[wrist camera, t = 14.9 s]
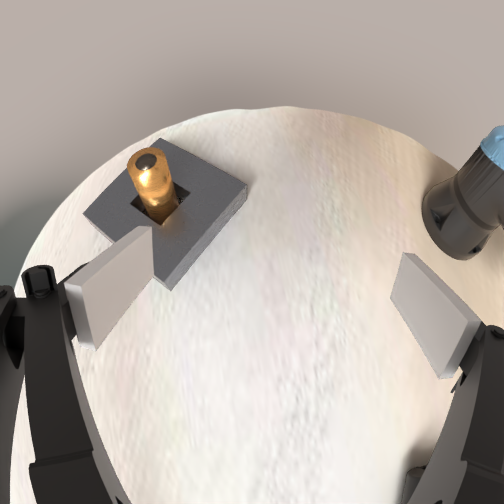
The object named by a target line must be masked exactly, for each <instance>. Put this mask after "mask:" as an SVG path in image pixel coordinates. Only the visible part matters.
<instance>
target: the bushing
mask: <svg viewBox="0 0 504 504" xmlns="http://www.w3.org/2000/svg"><path fill="white" fill-rule="evenodd" d="M127 170H128V172H129V174H130V177H131V179H132V181H133V183H134V185H135V188H136V190H137V192H138V194H139V196H140V198H141V200H142V202H143V204H144V207H145V209H146V211H147V213H148V215H149V217H150V219H151V220H153V221H154V222H155V223H157V224H158V225H160V226H161V225H162V224H163V223H164V221H165V220H166V219H167V218H168V217H169V216H170V215H171V214H172V213H173V212H174V210H175V209H176V208H177V207H178V206H179V201H178V198H177V195H176V191H175V188H174V185H173V181H172V178H171V174H170V171H169V167H168V164H167V160H166V157H165V154H164V152H163V151H162V150H160V149H158V148H154V147H149V148H144V149H141V150H139V151H138V152H136V153H135V154H134V155H132V157H131V158H130V159H129V161H128V164H127Z"/></svg>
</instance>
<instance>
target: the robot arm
mask: <svg viewBox="0 0 504 504" xmlns="http://www.w3.org/2000/svg"><path fill="white" fill-rule="evenodd" d="M422 215H423V220H424V223H425V226H426V228H427V230H428V232H429V234H430V236H431V238H432V239H433V241H434V242H435V243H436V245H437V246H438V247H439V248H440V249H441V250H442V251H443V252H445V253H446V254H447V255H449V256H451V257H452V258H455V259H458V260H468V259H471V258H472V257H474V256H475V255H477V254H478V253H479V252H480V251H481V250H482V249H483V247H484V246H485V244H486V243H487V241H488V239H489V238H490V236H491V234H492V233H493V231H494V229H496V228H497V227H498V226H499V225H501V226H502V228H503V229H504V126H497V127H495V128H494V129H493V130H492V131H491V132H490V133H489V135H488V136H487V137H486V138H484V139H483V140H482V141H481V144H480V146H479V147H478V149H477V150H476V151H475V152H474V154H473V155H472V156H471V157H470V158H469V160H468V161H467V162H466V163H465V164H464V166H463V167H462V168H461V169H460V170H459V172H458V173H457V174H456V175H455V176H454V177H452V178H450V179H448V180H446V181H443V182H441V183H439V184H437V185H435V186H434V187H433V188H432V189H431V190H430V191H429V192H428V193H427V195H426V196H425V198H424V200H423V204H422ZM153 276H154V267H153V247H152V227H147V226H138V227H136V228H135V229H133V230H132V231H131V232H129V233H128V234H126V235H125V236H124V237H122V238H121V239H120V240H118V241H117V242H116V243H114V244H113V245H112V246H110V247H109V248H108V249H106V250H105V251H104V252H102V253H101V254H100V255H98V256H97V257H96V258H94V259H93V260H92V261H91V262H88V263H86V264H83V265H81V266H80V267H78V268H77V269H76V270H74V272H72V273H71V274H69V276H67V277H66V278H64V279H63V280H62V281H61V282H59V283H58V284H57V283H56V278H55V273H54V269H53V267H51V266H49V265H37V266H34V267H31V268H29V269H27V270H25V271H24V272H23V273H22V275H21V277H22V281H23V285H24V289H25V293H26V298H16V297H15V293H14V290H13V288H12V287H11V286H5V285H4V286H0V504H10V468H11V454H12V444H13V435H14V427H15V421H16V414H17V408H18V403H19V398H20V393H21V388H22V383H23V379H24V375H25V385H26V398H27V408H28V416H29V423H30V430H31V436H32V442H33V447H34V452H35V459H36V460H35V463H30V465H29V475H30V480H31V484H32V488H33V492H34V495H35V499H36V502H37V504H132V503H131V502H130V500H129V499H128V497H127V495H126V493H125V491H124V489H123V487H122V485H121V483H120V481H119V479H118V477H117V475H116V473H115V471H114V468H113V466H112V464H111V462H110V459H109V457H108V455H107V452H106V450H105V448H104V445H103V443H102V440H101V437H100V435H99V432H98V429H97V427H96V424H95V421H94V418H93V415H92V412H91V409H90V406H89V403H88V400H87V397H86V393H85V390H84V387H83V383H82V380H81V376H80V372H79V368H78V364H77V360H76V356H75V352H74V347H73V344H72V341H71V340H72V339H73V338H74V337H75V335H76V334H77V338H78V341H79V345H80V347H83V348H87V349H90V350H94V351H97V349H98V348H99V347H100V345H101V344H102V342H103V341H104V340H105V338H106V337H107V336H108V334H109V333H110V332H111V330H112V329H113V328H114V326H115V325H116V324H117V322H118V321H119V320H120V318H121V317H122V316H123V314H124V313H125V312H126V310H127V309H128V308H129V306H130V305H131V304H132V303H133V301H134V300H135V299H136V297H137V296H138V295H139V294H140V292H141V291H142V290H143V289H144V287H145V286H146V285H147V284H148V282H149V281H150V280H151V279H152V277H153ZM390 299H391V300H392V302H393V303H394V305H395V307H396V308H397V310H398V311H399V313H400V314H401V316H402V318H403V319H404V321H405V322H406V324H407V326H408V327H409V329H410V330H411V332H412V334H413V335H414V337H415V339H416V340H417V342H418V344H419V345H420V347H421V349H422V350H423V352H424V354H425V356H426V357H427V359H428V361H429V363H430V364H431V366H432V368H433V370H434V371H435V373H436V375H437V377H438V379H444V378H452V377H453V376H454V374H455V372H456V370H457V369H458V367H459V366H460V367H461V369H462V371H463V372H462V374H461V376H460V377H459V379H458V381H457V382H456V384H455V386H454V387H453V389H452V390H451V393H453V392H454V390H455V393H454V397H453V400H452V403H451V406H450V409H449V412H448V415H447V418H446V421H445V424H444V426H443V429H442V432H441V434H440V437H439V439H438V442H437V444H436V447H435V449H434V451H433V454H432V456H431V458H430V461H429V463H428V465H427V467H426V469H425V471H424V473H423V475H422V477H421V479H420V481H419V483H418V485H417V487H416V489H415V491H414V493H413V495H412V496H411V498H410V500H409V502H408V503H407V504H504V330H503V329H502V328H500V327H497V326H494V325H488V326H486V325H485V324H484V323H483V322H482V321H481V319H480V318H479V317H478V316H477V315H476V314H475V313H474V312H473V311H472V310H471V309H470V308H469V307H468V305H467V304H466V303H465V302H464V301H463V300H462V299H461V298H460V297H459V296H458V295H457V294H456V293H455V292H454V291H453V290H452V289H451V288H450V287H449V286H448V285H447V284H446V283H445V282H444V281H443V280H442V279H441V278H440V277H439V276H438V275H437V274H436V273H435V272H434V271H433V270H431V269H430V268H429V267H428V266H427V265H426V264H425V263H424V262H423V261H422V260H421V259H420V258H419V257H418V256H416V255H415V254H412V253H404V252H403V254H402V258H401V262H400V265H399V269H398V273H397V276H396V280H395V283H394V287H393V290H392V293H391V296H390Z"/></svg>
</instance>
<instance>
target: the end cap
mask: <svg viewBox="0 0 504 504" xmlns="http://www.w3.org/2000/svg"><path fill="white" fill-rule="evenodd" d="M426 467H427V465H426V466H423V467H416V468H413V469H411V470H410V471H409V472H408V473H407V477H406V483H405V488H404V493H403V498H402V503H401V504H407V503H408V502H409V500H410V498H411V496H412V495H413V493H414V491H415V489H416V487H417V485H418V483H419V481H420V479H421V477H422V475H423V473H424V471H425V469H426Z"/></svg>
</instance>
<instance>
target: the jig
mask: <svg viewBox="0 0 504 504" xmlns="http://www.w3.org/2000/svg"><path fill="white" fill-rule="evenodd" d="M150 147H154V148H158V149H160V150H162V151H163V152H164V154H165V157H166V160H167V164H168V167H169V171H170V174H171V178H172V181H173V185H174V188H175V191H176V195H177V196H178V197H179V198H181V199H182V200H184V201H183V202H182V203H181V204H180V205H179V206H178V207H177V208H176V209H175V210H174V212H173V213H172V214H171V215H170V216H169V217H168V218H167V219H166V220H165V221H164V223H163V224H162V225H161V226H160V225H158V224H157V223H155V222H154V221H153V220H151V219H150V218H148V217H147V216H146V215H144V214H143V213H142V212H143V211H144V209H145V207H144V204H143V202H142V200H141V198H140V196H139V194H138V192H137V190H136V188H135V185H134V183H133V181H132V179H131V177H130V174H129V172H128V170H127V168H126V169H125V170H124V171H123V172H122V173H121V174H120V175H119V176H118V177H117V178H116V179H115V180H114V181H113V182H112V183H111V184H110V185H109V186H108V187H107V188H106V189H105V190H104V191H103V192H102V193H101V194H100V195H99V196H98V198H97V199H96V200H95V201H94V202H93V203H92V204H91V205H90V206H89V207H88V208H87V209H86V211H85V212H84V213H83V215H84V216H85V217H86V218H87V220H88V221H89V222H90V223H91V224H92V225H93V226H94V227H95V228H96V229H97V230H98V231H99V232H100V233H101V234H103V235H104V236H105V237H106V238H107V239H108V240H109V241H110V242H112V243H113V244H114V243H116V242H117V241H118V240H120V239H121V238H122V237H124V236H125V235H126V234H128V233H129V232H131V231H132V230H133V229H135V228H136V227H138V226H147V227H152V247H153V267H154V276H153V278H155V279H156V280H157V281H158V282H160V283H161V284H162V285H164V286H165V287H166V288H167V289H169V290H170V291H171V290H172V289H173V288H174V287H175V285H176V284H177V283H178V282H179V280H180V279H181V278H182V277H183V275H184V274H185V273H186V272H187V270H188V269H189V268H190V267H191V266H192V264H193V263H194V262H195V261H196V259H197V258H198V257H199V256H200V255H201V253H202V252H203V251H204V250H205V248H206V247H207V246H208V245H209V244H210V242H211V241H212V240H213V239H214V238H215V236H216V235H217V234H218V233H219V232H220V230H221V229H222V228H223V227H224V226H225V224H226V223H227V222H228V221H229V220H230V219H231V217H232V216H233V215H234V214H235V213H236V211H237V210H238V209H239V208H240V207H241V206H242V204H243V203H244V202H245V201H246V199H247V184H245V183H243V182H241V181H240V180H238V179H236V178H234V177H233V176H231V175H229V174H227V173H225V172H224V171H222V170H220V169H218V168H216V167H215V166H213V165H211V164H209V163H207V162H205V161H203V160H202V159H200V158H198V157H196V156H194V155H192V154H190V153H189V152H187V151H185V150H183V149H181V148H179V147H177V146H175V145H173V144H171V143H169V142H168V141H166V140H164V139H162V138H159V139H158V140H157V141H156V142H154V143H153V144H152V145H151V146H150Z"/></svg>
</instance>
